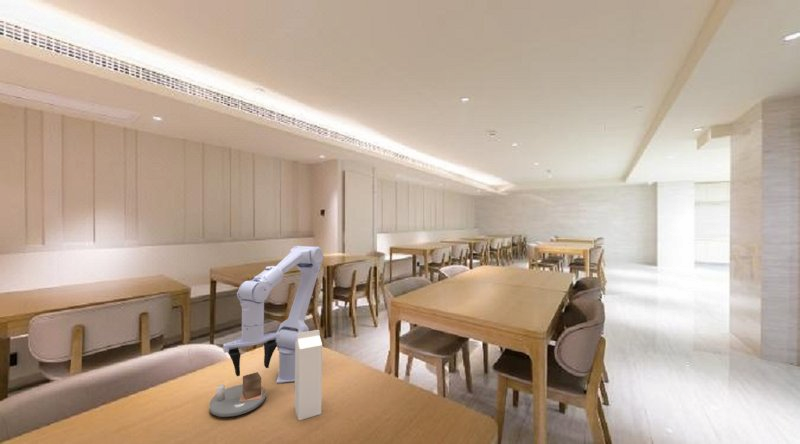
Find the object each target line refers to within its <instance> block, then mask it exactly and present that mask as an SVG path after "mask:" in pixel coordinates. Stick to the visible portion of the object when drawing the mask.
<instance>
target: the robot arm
mask: <svg viewBox="0 0 800 444" xmlns="http://www.w3.org/2000/svg"><path fill="white" fill-rule="evenodd" d="M323 261H324V254H323V251H322V249H321V247H320V246H306V245H305V246H304V245H303V246H302V245H295V246H294V247H292V248H290V250H289V253H288V254H287V255H286V256H285V257H284V258H283V259H282V260H281V261H279V262H278V263H277V265H268V266H265V268H264V269H263V271H262V272H260V273H259V274H257V275H255V276H254V277H253V278H252V279H251V280H246V281H244V282H242V283H241V284H240V285H239V288H238V291H237V292H236V296H237V299H238V300H239V302H240V306H241V337H240V338H238V339H235V340H232V341H229V342H225V343H223V345H222V346H223V347H222V350H223V352H224V354H226V353H227V354H228V355H229V356H230V359H231V361H232V363H233V367H234V372H235V375H236V376H235V377H240V375H241V371H240V370H241V368H240V367H241V366H240V365H241V352H240V350H241V349H243V348H247V347H253V346H258V345H261V344H262V345H263V351H264V356H263V366H264V367H265V369H269V368H270V367H269V366H270V362H271V361H272V356H273V354H274V352H275V351H276V349H277V351H278V352H279V354H278V358H279V360H278V374H277V379H276V382H275V383H276V384H283V383H291V382H295V341H296V340H297V339H298V333H302V332H308V331H310V329H309V326H307V325H308V324H306V322H305V320H306V316H307V313H308V308H309V307H310V302H311V300H312V295H313V291H314V288H315V285H316V281H317V278H318V274H319V272H320V270H321V267H322V263H323ZM294 267H296V268H297V270H298V271H300V272H301V277H300V280H299V284H298V286H297V288H296V289H297V290H296V293H295V295H294V298H293V303H292V305H291V309H290V311H289V314H288V317H287V319H285V320H284V321H282V322H281V323H280V324H279V327H278V329H277V331H276V332H270V333H264V332H265V328H264V327H265V325H264V324H265V301H266V300H267V299H268V297H269V294H270V292H271V291H272V289H273V288H274V287H275V286H277V285H278V284H279V283H281V281H283V278H284V274H286V273H287V272H289V271H290V270H292V269H293V268H294ZM295 329H296V330H295Z"/></svg>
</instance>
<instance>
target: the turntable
mask: <svg viewBox="0 0 800 444" xmlns="http://www.w3.org/2000/svg"><path fill="white" fill-rule="evenodd" d="M265 399H266V389H265V387H264V386H262V385H261V395H260V396H257V397H253V398H250V399H247V400H246V399H245V397H244V395H243V383H242V384H237V385H234V386H230V387H227V388H226V385H225V384H220V385H218V386H216V394H215V395H214V396H213V397H212V398H211V399H210V401H209V403H208V404H209V405H208V407H209V408H208V409H209V412H210V413H211V415H214V416H217V417H221V418H222V417H223V418H225V417H226V418H227V417H228V418H229V417H235V416H240V415H243V414H246V413H249V412H251V411H253V410H255V409H256V408H258V407H259V406H261V405H262V404H263V403H264V401H265Z"/></svg>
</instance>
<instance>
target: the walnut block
mask: <svg viewBox="0 0 800 444" xmlns="http://www.w3.org/2000/svg"><path fill="white" fill-rule="evenodd" d="M242 384H243V395H244V397H245V399H246V400H247V399H250V398H253V397H257V396H260V395H261V386H262V376H261V375H260V373H259V372H258V371H257V372H253V373H249V374H245V375H242Z"/></svg>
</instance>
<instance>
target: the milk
mask: <svg viewBox="0 0 800 444" xmlns="http://www.w3.org/2000/svg"><path fill="white" fill-rule="evenodd" d="M320 335H321V333H320V330H319V329H314V330H309V331H308V332H302V333H298V339H297V340H296V341H295V381H294V408H293V409H294V411H295V415H296V417H297V420H298V421H302V420H306V419H310V418H312V417H315V416H319V415H322V399H323V398H322V396H323V395H322V393H323V392H322V391H323V390H322V388H323V386H322V384H323V381H322V380H323V379H322V378H323V377H322V376H323V342H322V339H321V336H320Z"/></svg>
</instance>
